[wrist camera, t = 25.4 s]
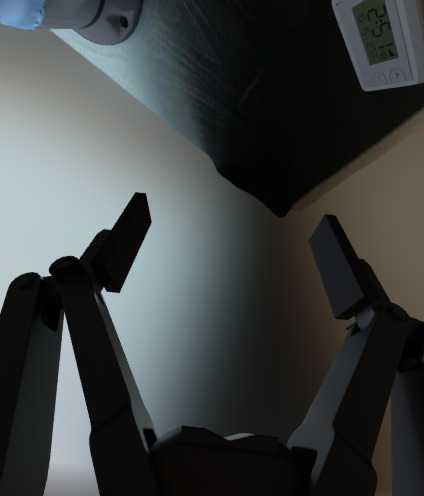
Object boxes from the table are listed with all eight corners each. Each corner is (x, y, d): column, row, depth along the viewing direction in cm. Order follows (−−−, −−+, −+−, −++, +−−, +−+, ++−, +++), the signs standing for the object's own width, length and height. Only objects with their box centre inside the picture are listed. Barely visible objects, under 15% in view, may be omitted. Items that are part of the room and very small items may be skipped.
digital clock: (326, -13, 29) (356, -28, 22) (406, -79, 25) (475, -124, 18) (344, 102, 38) (368, 118, 31) (403, 68, 34) (447, 78, 27)
